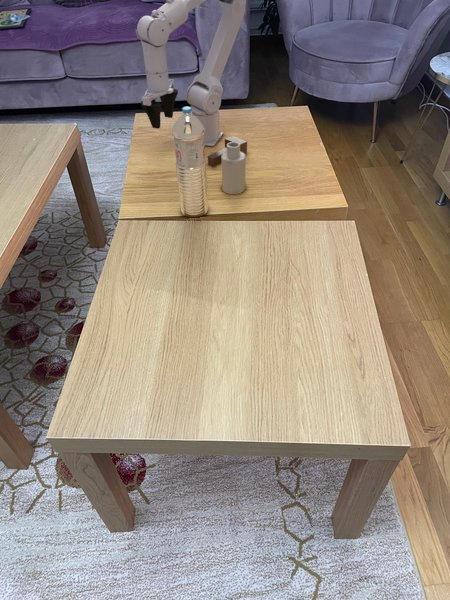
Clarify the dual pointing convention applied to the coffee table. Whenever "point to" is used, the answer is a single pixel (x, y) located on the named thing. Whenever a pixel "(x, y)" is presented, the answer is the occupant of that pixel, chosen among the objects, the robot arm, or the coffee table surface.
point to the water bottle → (191, 164)
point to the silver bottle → (233, 169)
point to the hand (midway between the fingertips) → (162, 122)
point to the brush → (216, 157)
